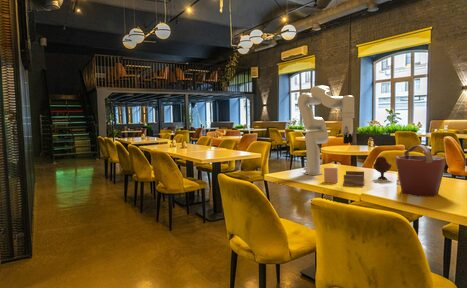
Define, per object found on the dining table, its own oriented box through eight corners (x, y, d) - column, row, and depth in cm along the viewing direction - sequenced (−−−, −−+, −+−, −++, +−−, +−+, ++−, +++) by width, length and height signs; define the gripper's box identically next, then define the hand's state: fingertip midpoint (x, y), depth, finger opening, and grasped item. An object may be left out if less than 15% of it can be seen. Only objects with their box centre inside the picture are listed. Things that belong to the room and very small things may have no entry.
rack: (345, 179, 211) (345, 170, 210) (364, 180, 206) (364, 171, 206) (342, 184, 195) (342, 175, 195) (364, 185, 190) (364, 175, 190)
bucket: (394, 187, 184) (394, 143, 183) (439, 189, 176) (439, 143, 174) (399, 196, 161) (399, 147, 160) (451, 199, 153) (451, 147, 152)
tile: (324, 181, 209) (324, 167, 208) (337, 181, 206) (337, 167, 205) (324, 182, 206) (324, 168, 206) (337, 182, 203) (337, 168, 202)
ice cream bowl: (392, 180, 204) (393, 156, 203) (373, 180, 208) (373, 156, 207) (390, 177, 214) (390, 155, 213) (372, 177, 218) (372, 155, 217)
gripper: (345, 115, 211) (345, 142, 212) (338, 115, 196) (338, 144, 197) (357, 115, 207) (357, 142, 208) (351, 115, 192) (351, 144, 193)
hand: (348, 143), depth 203 cm, fingers open, 9 cm apart
